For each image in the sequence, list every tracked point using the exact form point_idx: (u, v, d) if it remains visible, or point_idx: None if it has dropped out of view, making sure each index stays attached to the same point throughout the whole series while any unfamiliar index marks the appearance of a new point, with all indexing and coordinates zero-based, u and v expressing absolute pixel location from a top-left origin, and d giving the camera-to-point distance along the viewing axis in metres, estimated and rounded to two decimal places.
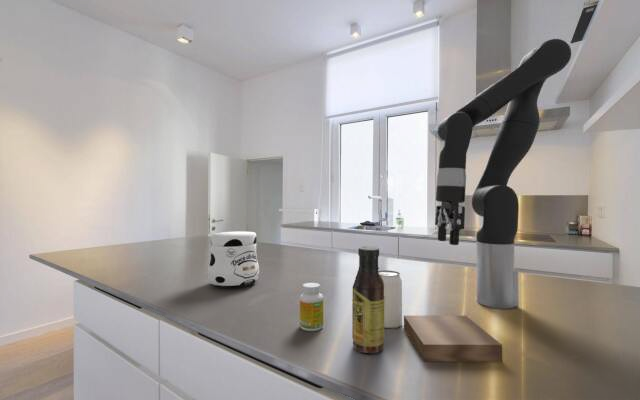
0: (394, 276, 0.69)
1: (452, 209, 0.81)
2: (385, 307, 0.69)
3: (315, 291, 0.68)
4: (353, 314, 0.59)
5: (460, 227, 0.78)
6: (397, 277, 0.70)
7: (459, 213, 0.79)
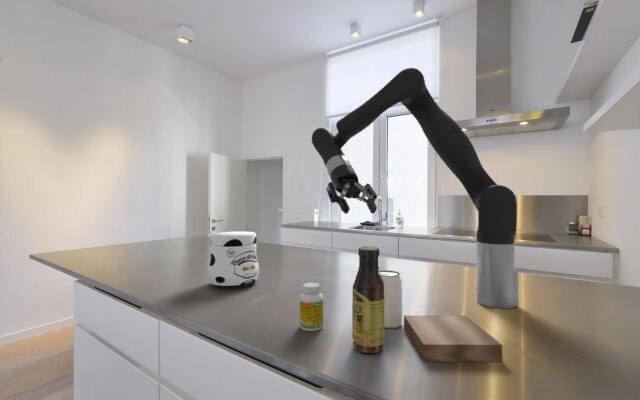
0: (394, 276, 0.69)
1: None
2: (385, 307, 0.69)
3: (315, 291, 0.68)
4: (353, 314, 0.59)
5: (332, 197, 0.83)
6: (397, 277, 0.70)
7: (329, 189, 0.85)
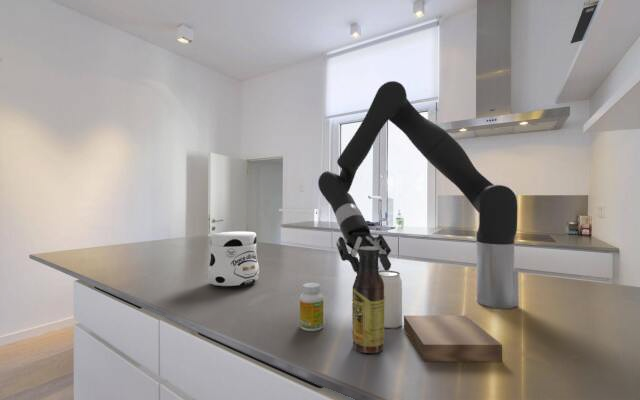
0: (394, 276, 0.69)
1: None
2: (385, 307, 0.69)
3: (315, 291, 0.68)
4: (353, 314, 0.59)
5: (343, 256, 0.77)
6: (397, 277, 0.70)
7: (339, 245, 0.80)
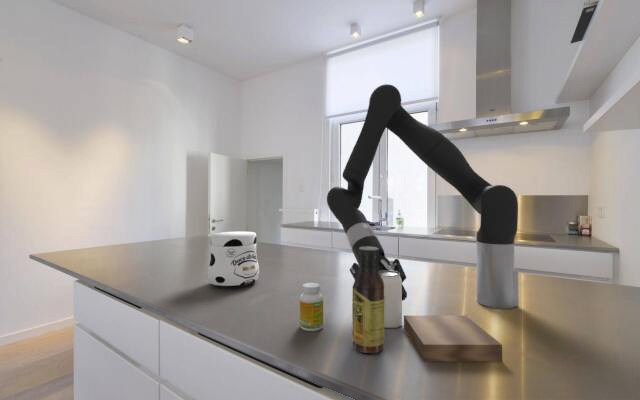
0: (394, 276, 0.69)
1: None
2: (385, 307, 0.69)
3: (315, 291, 0.68)
4: (353, 314, 0.59)
5: None
6: (397, 277, 0.70)
7: (354, 272, 0.73)
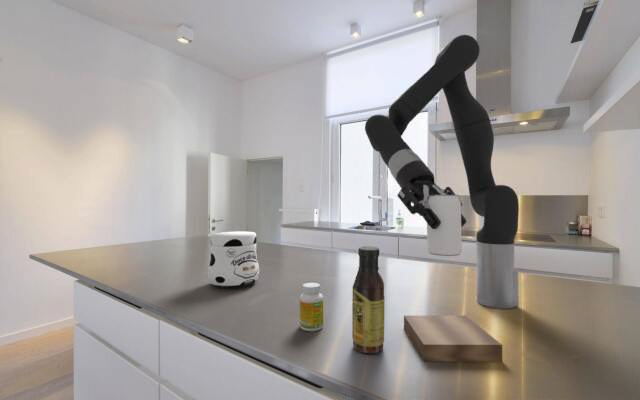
0: (453, 196, 0.60)
1: None
2: (443, 231, 0.59)
3: (315, 291, 0.68)
4: (353, 314, 0.59)
5: (414, 208, 0.61)
6: (456, 197, 0.60)
7: (404, 197, 0.64)
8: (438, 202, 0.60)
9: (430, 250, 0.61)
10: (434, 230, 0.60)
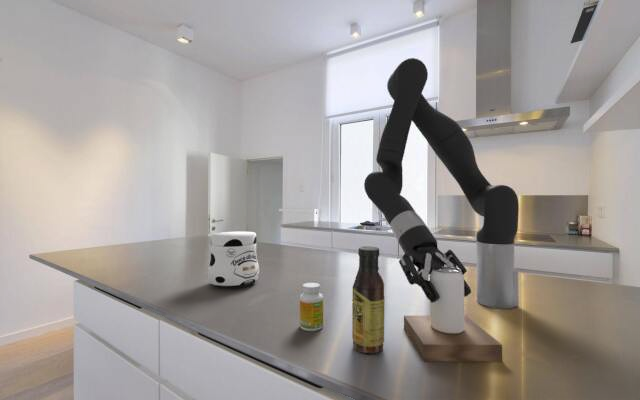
0: (457, 273, 0.59)
1: None
2: (446, 309, 0.59)
3: (315, 291, 0.68)
4: (353, 314, 0.59)
5: (413, 279, 0.60)
6: (460, 274, 0.60)
7: (404, 264, 0.63)
8: (441, 280, 0.59)
9: (433, 326, 0.61)
10: (437, 307, 0.60)
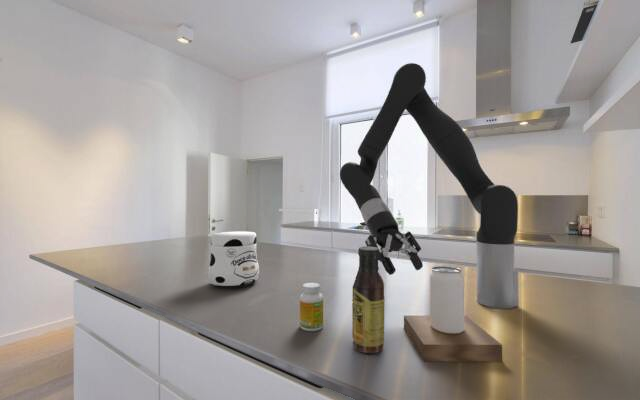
0: (457, 273, 0.59)
1: None
2: (446, 309, 0.59)
3: (315, 291, 0.68)
4: (353, 314, 0.59)
5: None
6: (460, 274, 0.60)
7: (369, 244, 0.76)
8: (441, 280, 0.59)
9: (433, 326, 0.61)
10: (437, 307, 0.60)
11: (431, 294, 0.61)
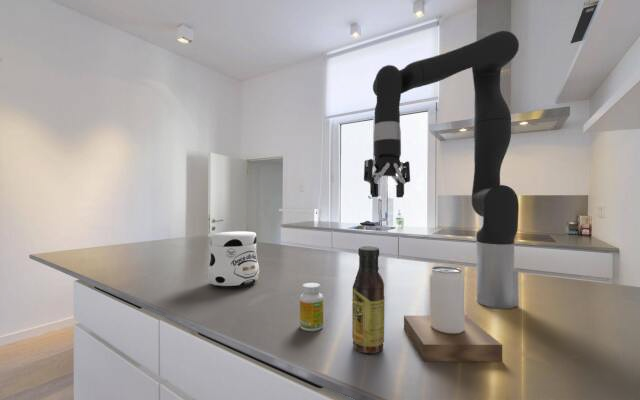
0: (457, 273, 0.59)
1: (373, 163, 0.85)
2: (446, 309, 0.59)
3: (315, 291, 0.68)
4: (353, 314, 0.59)
5: (366, 179, 0.83)
6: (460, 274, 0.60)
7: (367, 166, 0.83)
8: (441, 280, 0.59)
9: (433, 326, 0.61)
10: (437, 307, 0.60)
11: (431, 294, 0.61)
